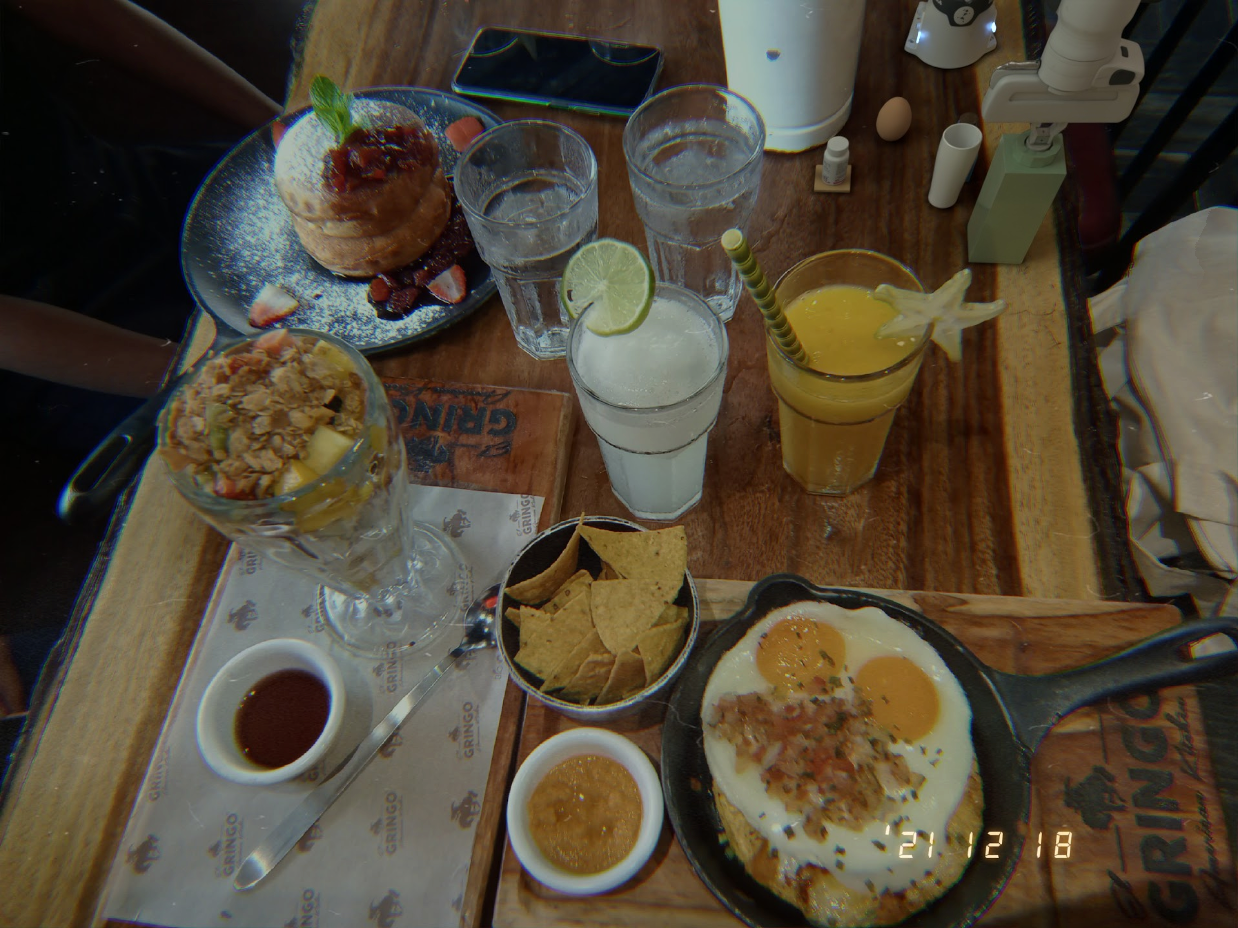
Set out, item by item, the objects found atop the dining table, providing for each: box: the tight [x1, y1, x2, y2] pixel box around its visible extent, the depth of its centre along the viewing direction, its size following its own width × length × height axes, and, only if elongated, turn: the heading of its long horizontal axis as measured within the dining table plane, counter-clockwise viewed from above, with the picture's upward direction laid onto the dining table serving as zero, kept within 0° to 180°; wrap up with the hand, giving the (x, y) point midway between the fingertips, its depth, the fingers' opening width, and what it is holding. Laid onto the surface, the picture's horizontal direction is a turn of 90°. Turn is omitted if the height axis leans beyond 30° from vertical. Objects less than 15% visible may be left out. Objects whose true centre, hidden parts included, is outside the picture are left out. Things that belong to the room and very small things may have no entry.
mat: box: [813, 164, 852, 193], centre depth 149 cm, size 7×7×1 cm
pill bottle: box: [822, 135, 850, 185], centre depth 145 cm, size 5×5×8 cm
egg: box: [875, 96, 913, 142], centre depth 148 cm, size 7×7×9 cm
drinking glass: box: [927, 122, 983, 209], centre depth 136 cm, size 7×7×15 cm
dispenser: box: [966, 128, 1068, 265], centre depth 126 cm, size 9×9×23 cm
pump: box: [1025, 136, 1051, 152], centre depth 117 cm, size 4×4×2 cm
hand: (1039, 141), depth 116 cm, fingers closed, pressing on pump
